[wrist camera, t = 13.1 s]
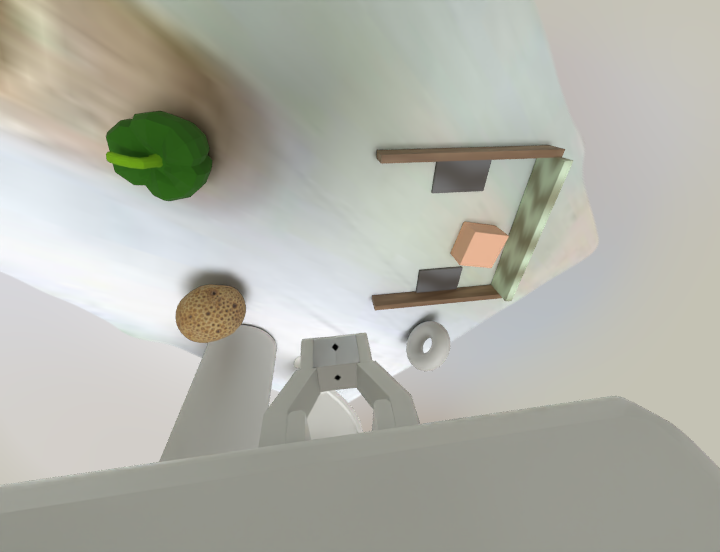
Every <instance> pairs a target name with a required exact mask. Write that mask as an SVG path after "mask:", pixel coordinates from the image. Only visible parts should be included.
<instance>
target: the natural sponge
mask: <svg viewBox="0 0 720 552" xmlns="http://www.w3.org/2000/svg"><path fill="white" fill-rule="evenodd" d="M245 313H246V305H245V301H244V299H243V297H242V295H241V294H240V292H239V291H238V290H237V289H235V288H234V287H231V286H226V285H212V284H209V285H203V286H200V287H198V288H196V289H194V290H192V291H191V292H190V293H188V294H187V295H186V296H185V297H184V298H183V299H182V300H181V301H180V303H179V305H178V306H177V310H176V323H177V326H178V329H179V330H180V332H181V333H182V334H183V335H184V336H185V337H186V338H188V339H189V340H191V341H194V342H199V343H207V342H213V341H217V340H220V339H223V338H225V337H227V336H229V335H231V334H233V333H234V332H235V331H236V329H237V328H239V327H240V325H241V324H242V322H243V319H244V317H245Z"/></svg>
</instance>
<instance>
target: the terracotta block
mask: <svg viewBox="0 0 720 552" xmlns="http://www.w3.org/2000/svg"><path fill="white" fill-rule="evenodd" d="M508 237H509V236H508V235H507V234H506V233H504V232H503V231H502V230H501V229H499V228H498V227H497V226H494V225H486V224H478V223H471V222H464V223H463V225H462V227H461V230H460V232H459V234H458V237H457V239H456V241H455V244H454V246H453V248H452V251H451V255H452V256H453V257H454V258H455V260H456V261H457V262H458V263H459V265H464V266H475V267H486V268H492V266H493V264H494V263H495V261H496V259H497V257H498V255H499V254H500V252H501V250H502V248H503V246H504V244H505V243H506V241H507V239H508Z"/></svg>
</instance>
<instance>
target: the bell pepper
mask: <svg viewBox="0 0 720 552" xmlns="http://www.w3.org/2000/svg"><path fill="white" fill-rule="evenodd" d="M106 139H107V142H108V146H109V150H110V152H107V154H106V159H107V161H108V162H110V163H113V166H114V170H115V172H116V173H117V174H119V175H120V176H122V177H123V178H125V179H126V180H128V181H129V182H130V183H132V184H133V185H146V187H147V188H148V189H149V190H150V191H151V193H152V194H153V195H154V196H156V197H158V198H160V199H162V200H165V201H173V200H178V199H183V198H188V197H191V196H192V195H193V194H194V193H195V192H196V191H198V190H199V189H200V188H201V187H202V186H203V185H204V184H205V183H206V182H207V179H208V176H209V174H210V171H211V167H212V159H211V158H210V157H209V156H208V155H207V154H208V152H209V145H208V142H207V138H206V135H205V134H204V133H203V132H202V131H201V130H200V129H199V128H198V127H197V126H196V125H195V124H194V123H192V122H190V121H187V120H185V119H182V118H180V117H177V116H174V115H172V114H169V113H166V112H163V111H156V112H148V113H140V114H135V115H134V117H133V119H127V120H121V121H119V122H118V123H117V124H116V125H115V126H114V127H113V128H111V129H110V130H109V131H108V132H107V135H106Z"/></svg>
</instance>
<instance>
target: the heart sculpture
mask: <svg viewBox="0 0 720 552" xmlns="http://www.w3.org/2000/svg"><path fill="white" fill-rule="evenodd" d="M300 358H301V356H299V357H298V358H296V359H295V361H294V367H295V368H299V369H300ZM307 423H308V427H309V431H310V436H311V440H314V439H321V438H328V437H335V436H342V435H348V434H355V433H362V432H363V430H362V426H361V422H360V420H359V418H358V416H357V415H356V413H355V411H354V410H353V408H352V407H351V406H350V405H349V403H348V402H347V401H346V400H345V399H344V398H343V397H342V396H341V395H339V394H338V393H337V392H336V391H335V390H332V391H325V392H320V395H319V397H318V399H317V401H316V403H315V404H314V406H313V408H312V410H311V412H310V414H309V416H308V418H307Z"/></svg>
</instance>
